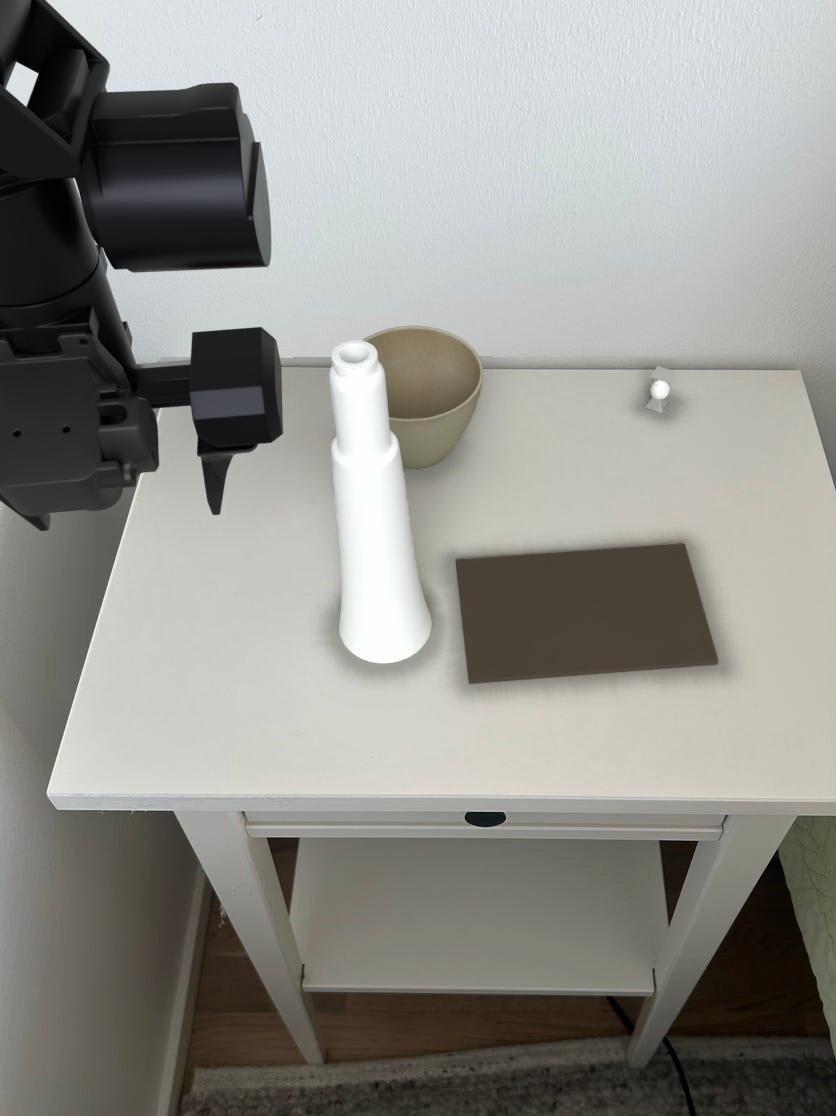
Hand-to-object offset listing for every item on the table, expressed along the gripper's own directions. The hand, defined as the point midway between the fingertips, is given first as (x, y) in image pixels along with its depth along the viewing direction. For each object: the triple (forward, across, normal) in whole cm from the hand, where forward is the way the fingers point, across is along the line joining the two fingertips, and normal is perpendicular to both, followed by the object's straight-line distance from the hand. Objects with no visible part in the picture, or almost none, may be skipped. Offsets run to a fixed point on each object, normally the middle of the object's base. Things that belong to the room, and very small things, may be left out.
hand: (132, 517), depth 55 cm
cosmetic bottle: (+12, +13, 0) cm, 18 cm away
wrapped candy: (+12, +36, +19) cm, 42 cm away
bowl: (+12, +17, +16) cm, 26 cm away
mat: (+12, +26, -1) cm, 29 cm away
